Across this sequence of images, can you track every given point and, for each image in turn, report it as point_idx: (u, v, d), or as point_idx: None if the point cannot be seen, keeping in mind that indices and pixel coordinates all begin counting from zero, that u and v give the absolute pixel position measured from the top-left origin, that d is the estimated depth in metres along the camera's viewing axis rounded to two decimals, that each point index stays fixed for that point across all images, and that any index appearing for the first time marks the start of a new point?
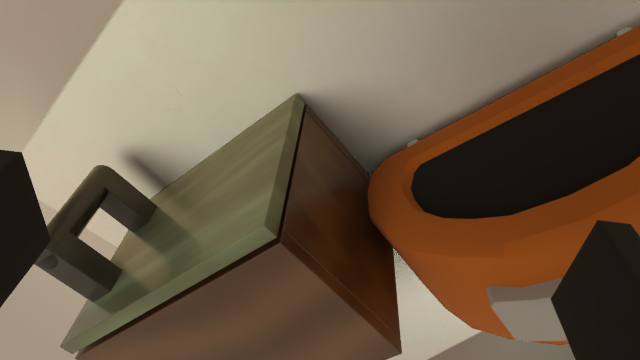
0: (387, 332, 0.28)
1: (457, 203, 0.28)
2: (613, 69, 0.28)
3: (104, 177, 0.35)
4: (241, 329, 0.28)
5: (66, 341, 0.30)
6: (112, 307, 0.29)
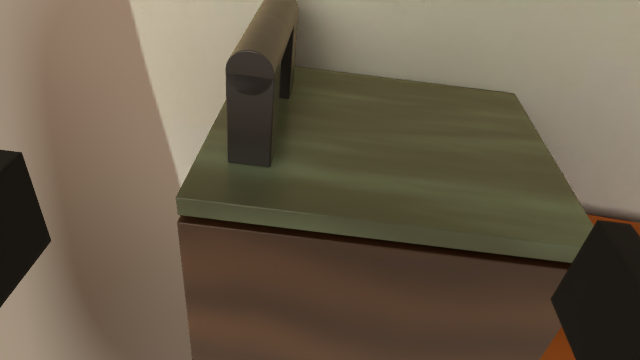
0: None
1: None
2: None
3: (295, 14, 0.25)
4: (423, 313, 0.22)
5: (192, 196, 0.19)
6: (299, 198, 0.20)
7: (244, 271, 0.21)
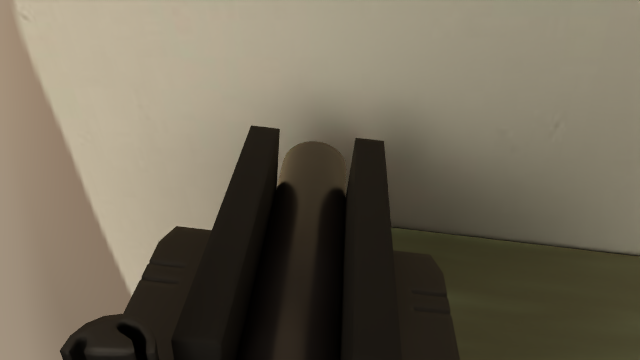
0: None
1: None
2: None
3: (345, 191, 0.14)
4: None
5: None
6: None
7: None
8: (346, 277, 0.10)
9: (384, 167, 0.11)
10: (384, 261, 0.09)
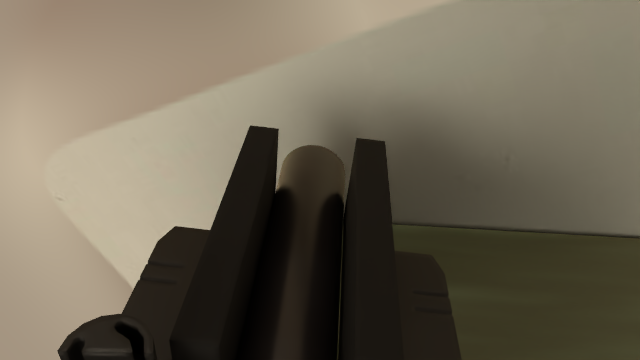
0: None
1: None
2: None
3: (343, 193, 0.14)
4: None
5: None
6: None
7: None
8: (347, 277, 0.10)
9: (385, 167, 0.11)
10: (386, 261, 0.09)
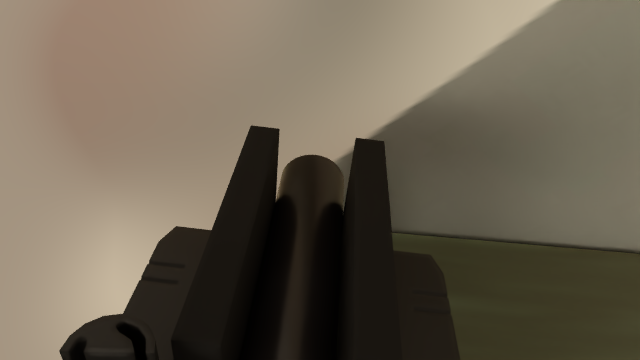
0: None
1: None
2: None
3: (342, 204, 0.14)
4: None
5: None
6: None
7: None
8: (346, 277, 0.10)
9: (384, 167, 0.11)
10: (384, 261, 0.09)
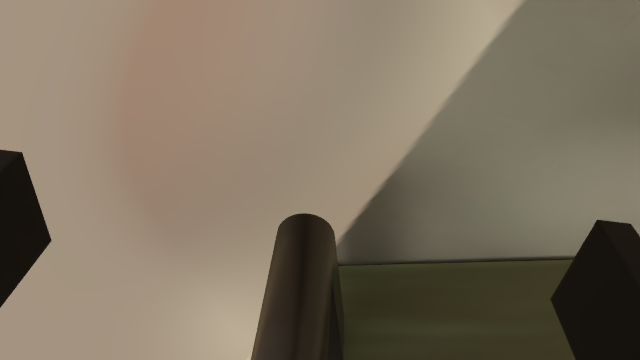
0: None
1: None
2: None
3: (331, 256, 0.15)
4: None
5: None
6: None
7: None
8: None
9: None
10: None
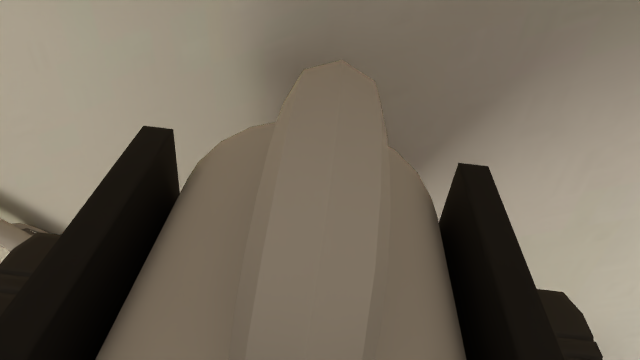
0: None
1: None
2: None
3: None
4: None
5: None
6: None
7: None
8: (473, 315, 0.10)
9: (498, 196, 0.11)
10: (533, 304, 0.08)
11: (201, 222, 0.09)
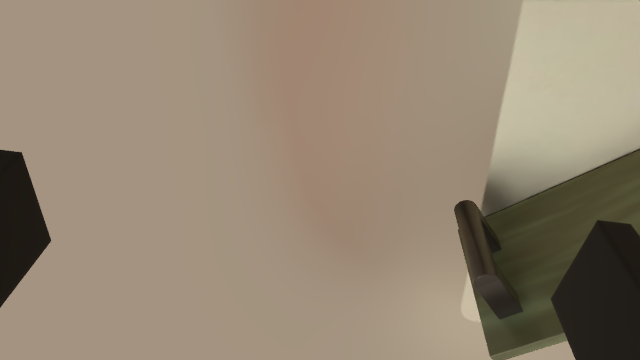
0: None
1: None
2: None
3: (477, 211, 0.42)
4: None
5: (497, 352, 0.36)
6: (551, 326, 0.35)
7: None
8: None
9: None
10: None
11: None
